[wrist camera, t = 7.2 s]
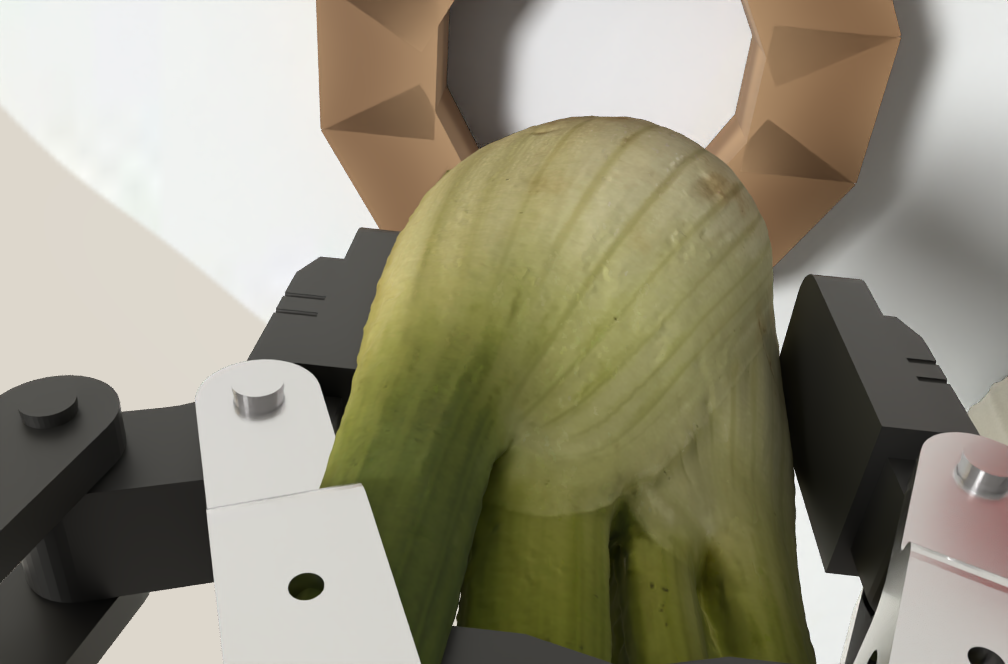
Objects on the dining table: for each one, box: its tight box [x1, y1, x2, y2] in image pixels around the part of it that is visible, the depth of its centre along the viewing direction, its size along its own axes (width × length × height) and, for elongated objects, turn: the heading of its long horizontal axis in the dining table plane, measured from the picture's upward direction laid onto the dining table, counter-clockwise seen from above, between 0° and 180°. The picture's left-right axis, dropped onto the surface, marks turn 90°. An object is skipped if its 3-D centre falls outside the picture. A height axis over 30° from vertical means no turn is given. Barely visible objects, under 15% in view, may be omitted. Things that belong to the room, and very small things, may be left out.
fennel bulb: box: [295, 116, 816, 664], centre depth 11 cm, size 6×5×12 cm
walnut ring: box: [316, 0, 901, 267], centre depth 23 cm, size 14×14×2 cm
